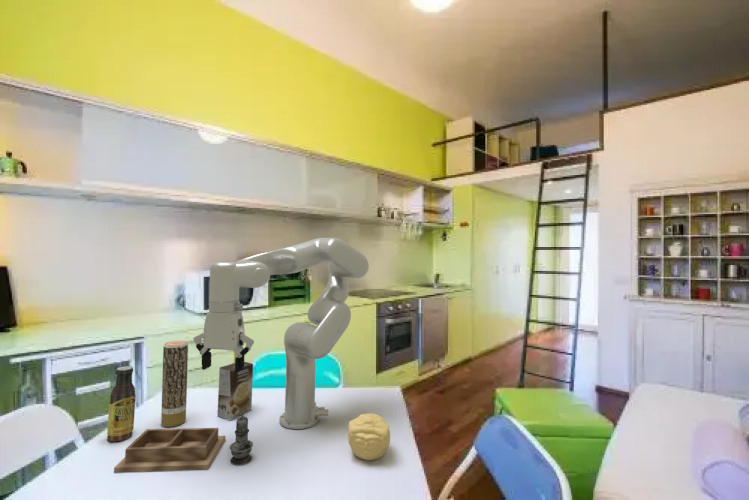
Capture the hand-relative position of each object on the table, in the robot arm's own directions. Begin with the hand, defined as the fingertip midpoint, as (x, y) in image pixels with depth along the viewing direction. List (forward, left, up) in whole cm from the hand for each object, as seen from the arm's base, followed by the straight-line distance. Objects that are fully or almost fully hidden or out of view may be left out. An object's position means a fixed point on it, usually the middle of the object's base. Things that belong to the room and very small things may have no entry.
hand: (222, 369), depth 98 cm
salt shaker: (-7, +4, -23) cm, 24 cm away
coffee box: (+2, -23, -23) cm, 32 cm away
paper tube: (+19, -17, -23) cm, 34 cm away
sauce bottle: (+30, -9, -23) cm, 39 cm away
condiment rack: (+11, +1, -22) cm, 25 cm away
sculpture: (-41, +3, -23) cm, 47 cm away
